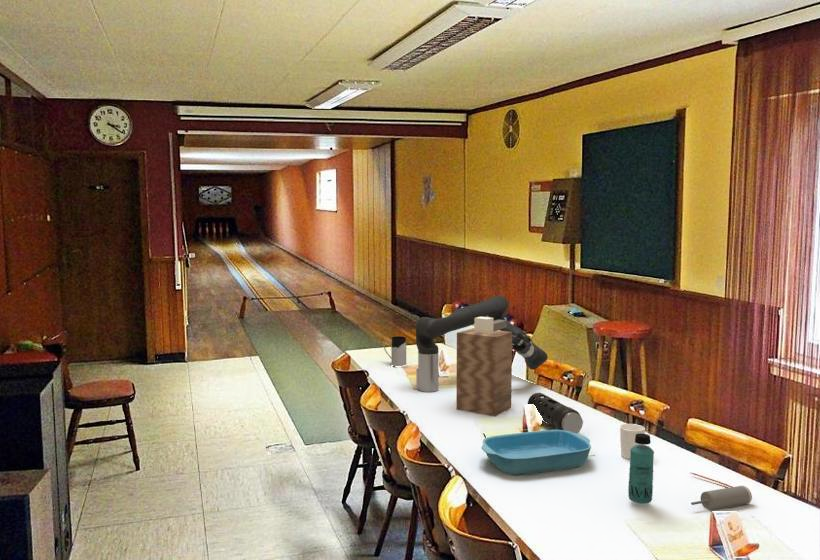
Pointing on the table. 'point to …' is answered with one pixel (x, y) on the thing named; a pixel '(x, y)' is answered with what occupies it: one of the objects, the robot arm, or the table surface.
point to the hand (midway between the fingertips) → (509, 333)
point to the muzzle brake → (557, 413)
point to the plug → (488, 325)
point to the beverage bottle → (641, 470)
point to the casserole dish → (537, 451)
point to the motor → (724, 496)
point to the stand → (484, 372)
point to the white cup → (629, 438)
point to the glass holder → (397, 350)
